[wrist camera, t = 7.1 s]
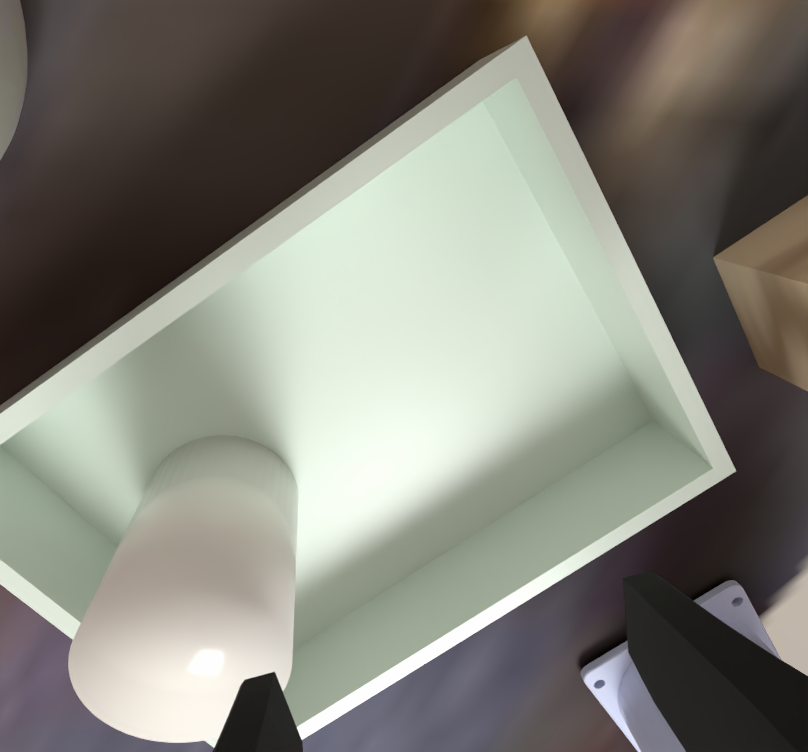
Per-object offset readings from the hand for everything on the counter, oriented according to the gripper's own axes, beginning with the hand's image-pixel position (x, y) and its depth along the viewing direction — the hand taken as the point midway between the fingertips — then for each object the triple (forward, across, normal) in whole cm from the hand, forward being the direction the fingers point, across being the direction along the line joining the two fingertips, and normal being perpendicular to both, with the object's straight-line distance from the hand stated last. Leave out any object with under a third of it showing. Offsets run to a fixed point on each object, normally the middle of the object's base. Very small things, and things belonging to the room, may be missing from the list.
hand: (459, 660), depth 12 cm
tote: (+10, +2, -1) cm, 10 cm away
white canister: (+9, +6, 0) cm, 11 cm away
